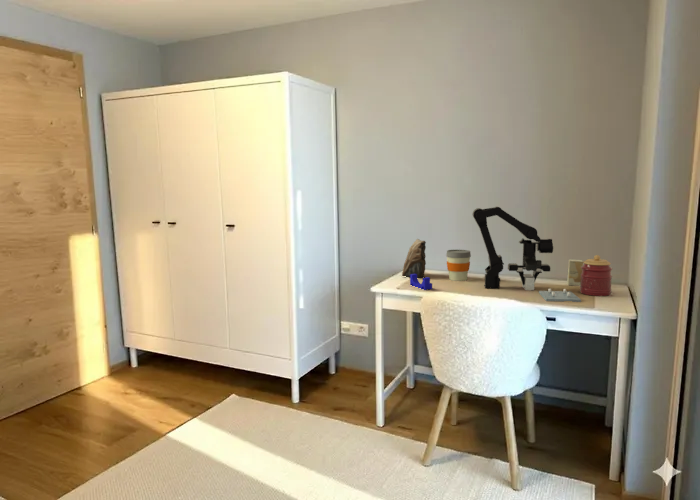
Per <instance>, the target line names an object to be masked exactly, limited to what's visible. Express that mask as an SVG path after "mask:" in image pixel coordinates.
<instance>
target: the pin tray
mask: <svg viewBox="0 0 700 500" xmlns="http://www.w3.org/2000/svg"><path fill="white" fill-rule="evenodd" d="M538 294H539V295H540V296H541V298H543V299H544V300H545V301H546V302H564V301H572V302H573V303H575V302H576V303H581V302H582V299H581V298H580V297H578V295H576V294H575V293H574V292H573V291H570V290H569V291H567V288H563V291H562V290H552V288H548V290H538Z"/></svg>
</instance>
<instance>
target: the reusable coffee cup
mask: <svg viewBox="0 0 700 500" xmlns="http://www.w3.org/2000/svg"><path fill="white" fill-rule="evenodd" d="M445 256H446V267H447V269H446V270H447V272H448V278H449V280H450V281H455V282H463V281H467V280H468V273H469V271H470V267H471V266H470V265H471V261H470V260H471V256H472V255H471V251H470V250H467V249H448V250H446V254H445Z"/></svg>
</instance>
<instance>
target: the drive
mask: <svg viewBox="0 0 700 500" xmlns="http://www.w3.org/2000/svg"><path fill="white" fill-rule="evenodd" d="M534 280H535V278H534V277H533V274H531V273H524V285H523V284H522V283H521V287H522V288H523V289H524V290H525V291H535V283H534ZM535 281H536V280H535Z"/></svg>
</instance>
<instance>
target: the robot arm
mask: <svg viewBox="0 0 700 500" xmlns="http://www.w3.org/2000/svg"><path fill="white" fill-rule="evenodd" d="M494 216H497V217H499V218H500V219H502V220H503V221H505V222H506V223H508V224H509V225H511V226H512V227H514V228H515V229H516V230H517V231H518V232H519V233H521V235H523V236H524V237H525V238H526V239H525V238H524V237H523V238H521V240H519V241H518V243H519V244H520V245H521V244H522V264H521V265H519V264H517V262H516V263H513V262H511V263H509V262H508V264H507V270H508V271H509V272H510V271H511V272H516V273H518V275H519V278H520V280H521V285H522V284H523V285H524V274H525V271H524V270H526V271H528V272H530V271H532V276H533V277H534V278H535V280H534V284H535V283H536V280H537V277H538V276H539V275H540V274H542V273H543V272H551V266H550V265H549V264H547V263H542V260H541V259H537V258H536V257H537V256H536V253H537V252H538V253H539V254H553V253H554V244H553V239H552V238H541V237H540V236H539V235H538V230H537V229H536V228H535V227H533V226H531V225H528V224H526V223H523V222H521V221H520V220H518V219H517V218H516V217H514V216H513V215H510V214H509V213H508V212H507V211H505V210H503V208H501V207H500V206H495V207H489V208H483V209H482V208H481V207H477V208H475V209H473V211H472V218H474V221H475V223H476V225H477V226H478V228H479V230H480V234H481V236H482V239H483V243H484V245H485V248H486V251H487V254H488V266H487V267H485V268H484V271H485V274H484V284H483V286H484V289H500V287H501V278H500V275H499V274H500V273H501V272H502V271H503V270H504V265H505V263H504V262H503V257H502V255H501V254H498V253H497V251H496V248H495V245H494V242H493V240H492V236H491V233H490V230H489V227H488V220H487V218H490V217H491V218H492V217H494ZM532 240H533V241H532ZM536 251H537V252H536ZM542 271H543V272H542Z"/></svg>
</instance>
